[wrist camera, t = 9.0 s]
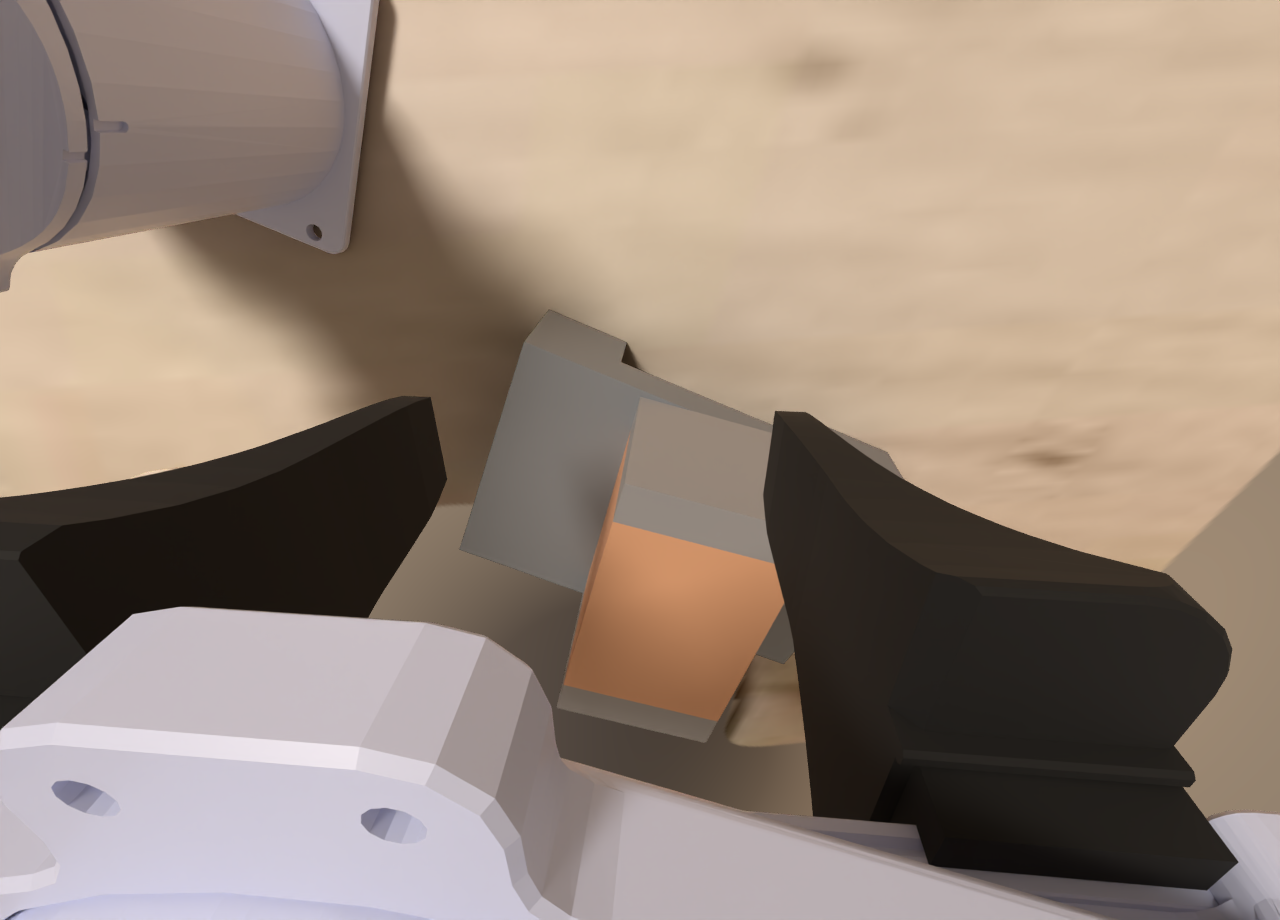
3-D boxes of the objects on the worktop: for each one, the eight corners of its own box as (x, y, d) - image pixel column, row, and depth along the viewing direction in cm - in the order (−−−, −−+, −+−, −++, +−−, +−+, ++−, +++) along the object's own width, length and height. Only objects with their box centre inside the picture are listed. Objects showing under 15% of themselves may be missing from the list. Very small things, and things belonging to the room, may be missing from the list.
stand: (487, 497, 24) (459, 549, 21) (548, 309, 20) (523, 341, 17) (773, 603, 26) (783, 664, 23) (887, 452, 22) (919, 504, 19)
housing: (702, 626, 23) (705, 743, 18) (582, 596, 22) (556, 707, 18) (790, 438, 18) (822, 535, 14) (640, 396, 18) (624, 483, 13)
